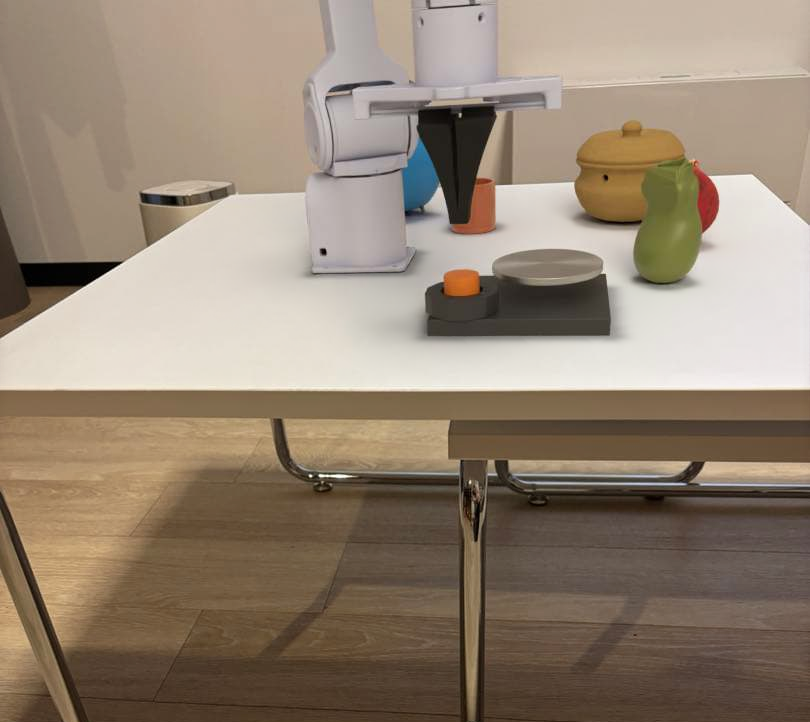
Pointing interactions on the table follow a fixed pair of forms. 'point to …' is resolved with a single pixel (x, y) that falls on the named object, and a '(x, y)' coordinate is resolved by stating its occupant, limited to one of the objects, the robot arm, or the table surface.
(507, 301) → the scale
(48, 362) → the table surface
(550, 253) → the scale pan
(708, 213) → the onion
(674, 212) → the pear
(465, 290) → the tare button
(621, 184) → the pot
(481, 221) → the orange plastic cup
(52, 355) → the table surface
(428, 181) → the alarm clock
